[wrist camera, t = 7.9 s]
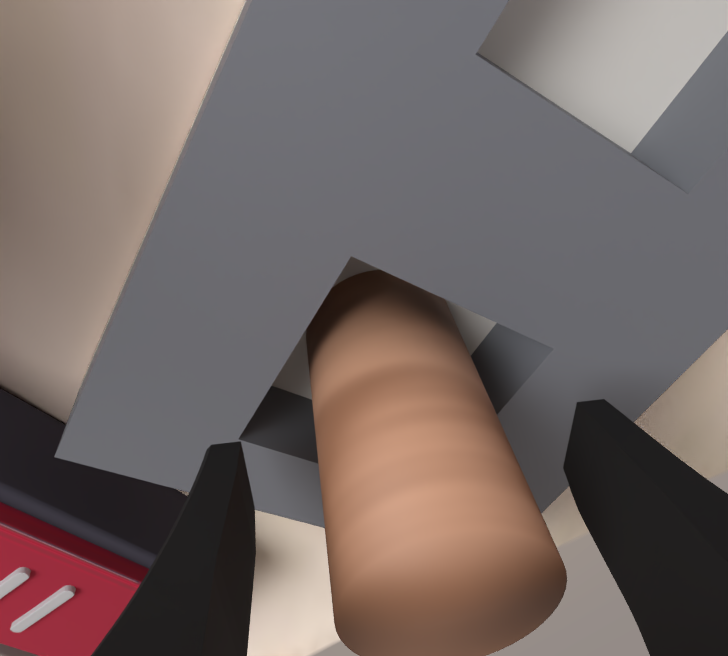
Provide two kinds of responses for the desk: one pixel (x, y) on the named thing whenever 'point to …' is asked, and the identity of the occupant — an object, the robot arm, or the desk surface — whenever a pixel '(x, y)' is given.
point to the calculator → (68, 539)
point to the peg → (420, 482)
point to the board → (424, 224)
